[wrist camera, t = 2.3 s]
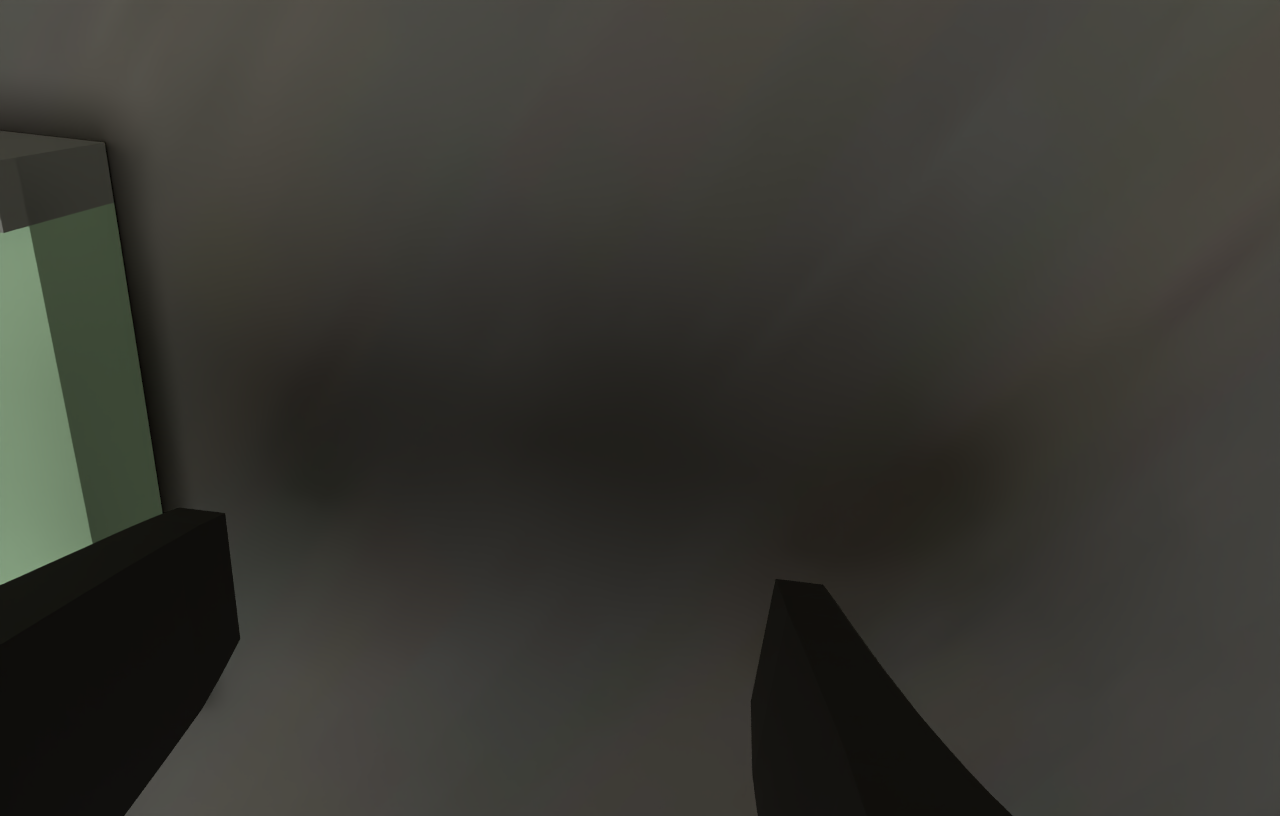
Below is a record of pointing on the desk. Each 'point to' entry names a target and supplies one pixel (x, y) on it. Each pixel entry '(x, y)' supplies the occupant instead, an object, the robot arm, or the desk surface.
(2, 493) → the green walled tray
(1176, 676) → the desk surface
